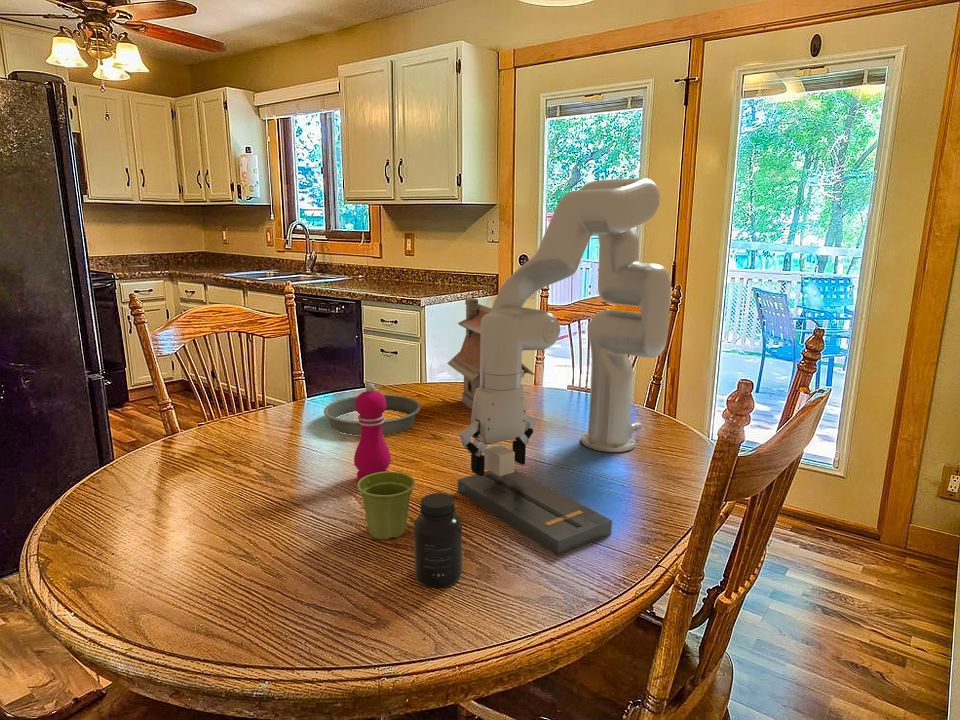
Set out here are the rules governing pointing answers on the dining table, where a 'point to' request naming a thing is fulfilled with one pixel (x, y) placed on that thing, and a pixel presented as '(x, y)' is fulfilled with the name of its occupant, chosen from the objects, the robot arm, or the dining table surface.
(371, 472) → the pepper mill
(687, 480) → the dining table surface
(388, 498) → the plant pot
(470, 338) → the miniature house
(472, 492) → the fader console
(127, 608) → the dining table surface
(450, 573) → the supplement bottle
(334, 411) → the cake pan
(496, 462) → the fader knob
